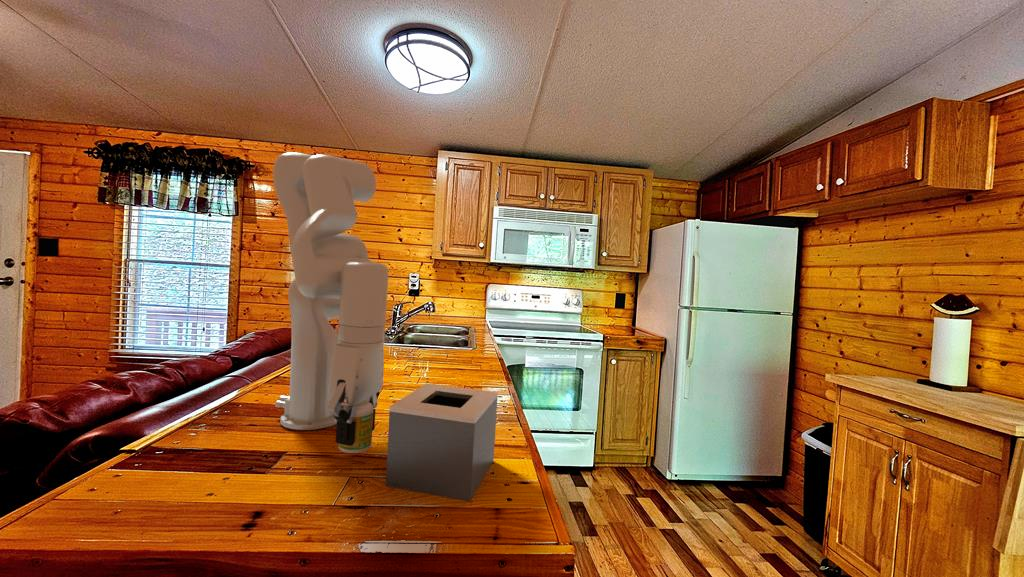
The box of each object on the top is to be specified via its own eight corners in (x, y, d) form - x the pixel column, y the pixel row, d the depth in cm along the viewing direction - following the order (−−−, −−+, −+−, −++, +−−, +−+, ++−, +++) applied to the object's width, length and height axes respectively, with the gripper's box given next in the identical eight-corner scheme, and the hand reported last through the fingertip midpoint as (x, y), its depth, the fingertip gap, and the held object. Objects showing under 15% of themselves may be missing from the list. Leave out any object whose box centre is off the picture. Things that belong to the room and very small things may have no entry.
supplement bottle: (360, 456, 70) (363, 399, 69) (331, 450, 71) (334, 394, 70) (377, 442, 75) (380, 390, 74) (350, 437, 76) (353, 385, 76)
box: (385, 485, 66) (389, 406, 66) (422, 449, 80) (426, 383, 79) (470, 501, 64) (475, 418, 63) (493, 460, 77) (497, 392, 77)
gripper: (369, 324, 81) (363, 415, 82) (308, 340, 64) (302, 454, 65) (405, 329, 79) (398, 422, 81) (352, 346, 62) (345, 463, 64)
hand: (355, 435), depth 73 cm, fingers closed on supplement bottle, 5 cm apart
